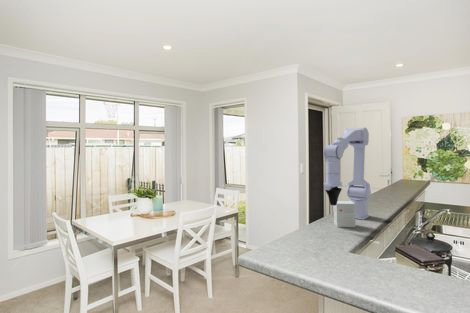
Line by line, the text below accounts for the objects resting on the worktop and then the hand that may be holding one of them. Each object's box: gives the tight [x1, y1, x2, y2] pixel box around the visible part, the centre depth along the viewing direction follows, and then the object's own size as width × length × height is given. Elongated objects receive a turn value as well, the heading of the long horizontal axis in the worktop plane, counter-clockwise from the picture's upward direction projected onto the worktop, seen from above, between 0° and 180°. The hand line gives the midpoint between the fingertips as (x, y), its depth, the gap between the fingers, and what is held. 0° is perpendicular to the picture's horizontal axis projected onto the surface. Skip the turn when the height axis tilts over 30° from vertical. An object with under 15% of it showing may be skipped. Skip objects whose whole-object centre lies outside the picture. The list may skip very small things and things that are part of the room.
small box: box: [333, 200, 356, 228], centre depth 128 cm, size 8×6×10 cm
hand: (333, 205), depth 122 cm, fingers closed
